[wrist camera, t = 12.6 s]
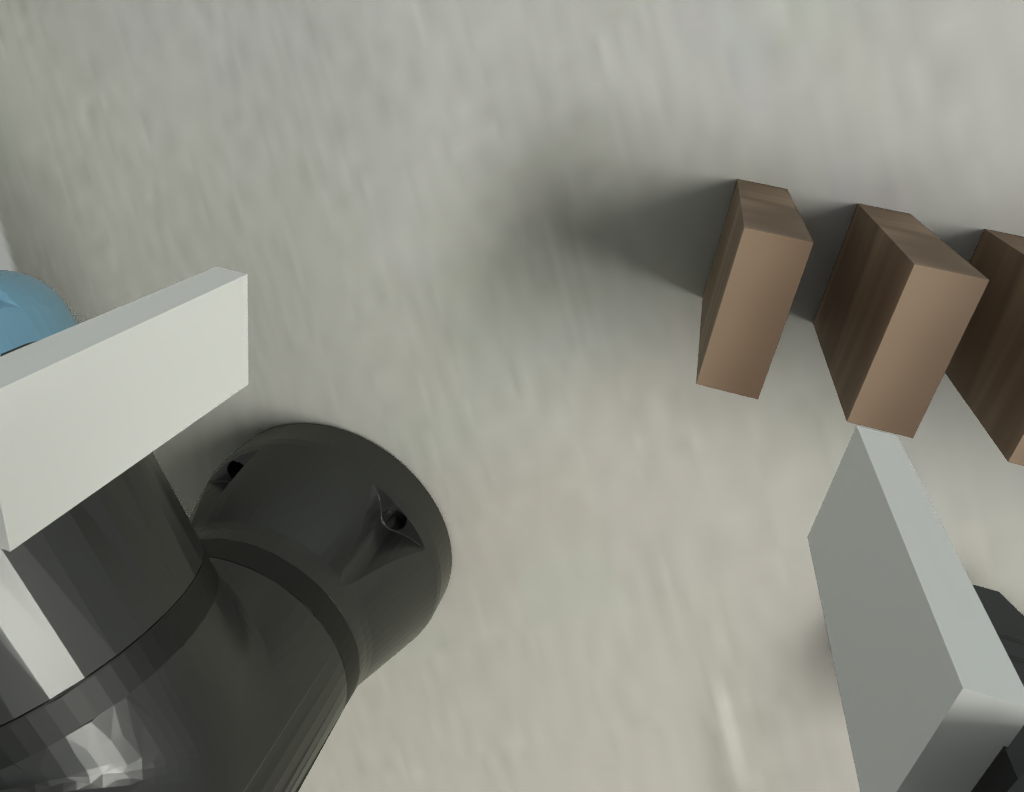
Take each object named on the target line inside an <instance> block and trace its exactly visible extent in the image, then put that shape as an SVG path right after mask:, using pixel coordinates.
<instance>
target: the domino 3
mask: <svg viewBox="0 0 1024 792" xmlns="http://www.w3.org/2000/svg"><path fill="white" fill-rule="evenodd" d="M969 263H970V264H971V265H972V266H973V267H974V268H976V269H977V270H978V271H979V272H980V273H982V274H983V275H984V276H985V277H986V278H988V279H989V282H988V284H987V286H986V288H985V290H984V292H983V294H982V296H981V299H980V301H979V303H978V305H977V307H976V309H975V311H974V313H973V315H972V317H971V319H970V321H969V323H968V325H967V327H966V329H965V332H964V334H963V336H962V338H961V340H960V342H959V344H958V346H957V348H956V350H955V352H954V354H953V356H952V358H951V360H950V363H949V365H948V367H947V369H946V371H945V373H946V375H947V376H948V377H949V379H950V380H951V382H952V383H953V385H954V386H955V387H956V389H957V390H958V392H959V393H960V394H961V396H962V397H963V399H964V400H965V402H966V403H967V404H968V406H969V407H970V409H971V410H972V411H973V413H974V414H975V416H976V417H977V418H978V420H979V421H980V423H981V424H982V426H983V427H984V428H985V430H986V431H987V433H988V434H989V435H990V437H991V438H992V440H993V441H994V443H995V444H996V445H997V447H998V448H999V450H1000V451H1001V452H1002V454H1003V455H1004V457H1005V458H1006V459H1007V461H1008V462H1011V463H1015V464H1019V465H1023V466H1024V237H1022V236H1017V235H1012V234H1007V233H1002V232H997V231H992V230H987V229H985V230H984V232H983V234H982V237H981V239H980V241H979V243H978V245H977V247H976V249H975V252H974V254H973V256H972V258H971V260H970V262H969Z"/></svg>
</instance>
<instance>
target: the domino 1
mask: <svg viewBox="0 0 1024 792" xmlns="http://www.w3.org/2000/svg"><path fill="white" fill-rule="evenodd" d="M813 244H814V242H813V240H812V238H811V236H810V234H809V232H808V230H807V228H806V226H805V224H804V222H803V220H802V218H801V216H800V214H799V212H798V210H797V208H796V206H795V204H794V202H793V200H792V198H791V196H790V194H789V192H788V190H787V189H784V188H779V187H774V186H769V185H764V184H759V183H754V182H750V181H745V180H740V179H737V183H736V186H735V190H734V193H733V196H732V200H731V203H730V207H729V210H728V213H727V217H726V220H725V224H724V227H723V230H722V234H721V237H720V241H719V244H718V247H717V251H716V254H715V258H714V261H713V264H712V268H711V271H710V275H709V278H708V281H707V285H706V288H705V292H704V295H703V300H702V314H701V327H700V341H699V354H698V368H697V381H696V384H699V385H703V386H707V387H711V388H715V389H719V390H723V391H727V392H731V393H735V394H739V395H743V396H747V397H751V398H755V399H758V398H759V395H760V392H761V389H762V387H763V384H764V381H765V378H766V375H767V373H768V370H769V367H770V364H771V361H772V359H773V356H774V353H775V350H776V347H777V345H778V342H779V339H780V336H781V333H782V330H783V328H784V325H785V322H786V319H787V316H788V314H789V311H790V308H791V305H792V302H793V300H794V297H795V294H796V291H797V288H798V286H799V283H800V280H801V277H802V274H803V272H804V269H805V266H806V263H807V260H808V258H809V255H810V252H811V249H812V246H813Z"/></svg>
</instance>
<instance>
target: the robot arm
mask: <svg viewBox="0 0 1024 792" xmlns="http://www.w3.org/2000/svg"><path fill="white" fill-rule="evenodd" d="M247 385H248V283H247V274H245V273H241V272H237V271H233V270H229V269H225V268H221V267H217V266H216V267H214V268H211V269H209V270H206V271H204V272H202V273H199V274H197V275H195V276H192V277H190V278H187V279H185V280H183V281H180V282H178V283H175V284H173V285H171V286H168V287H166V288H163V289H161V290H159V291H156V292H154V293H151V294H149V295H147V296H144V297H142V298H139V299H137V300H135V301H132V302H130V303H128V304H125V305H123V306H120V307H118V308H116V309H113V310H111V311H108V312H106V313H104V314H101V315H99V316H96V317H94V318H92V319H89V320H87V321H84V322H82V323H80V324H78V323H77V321H76V319H75V318H74V316H73V315H72V313H71V311H70V310H69V308H68V306H67V305H66V303H65V302H64V301H63V299H62V298H61V297H60V296H59V294H58V293H57V292H56V291H54V290H53V289H52V288H51V287H50V286H48V285H47V284H45V283H44V282H42V281H40V280H38V279H36V278H34V277H31V276H29V275H26V274H22V273H19V272H14V271H6V270H0V792H298V791H299V789H300V787H301V786H302V784H303V782H304V780H305V778H306V776H307V775H308V773H309V771H310V769H311V767H312V766H313V764H314V762H315V760H316V758H317V757H318V755H319V753H320V751H321V749H322V748H323V746H324V744H325V742H326V740H327V738H328V737H329V735H330V733H331V731H332V729H333V728H334V726H335V724H336V722H337V720H338V719H339V717H340V715H341V713H342V711H343V709H344V708H345V706H346V704H347V703H348V701H349V699H350V697H351V696H352V694H353V692H354V691H355V689H356V687H357V686H358V685H359V684H360V683H362V682H363V681H364V680H365V679H366V678H368V677H369V676H370V675H371V674H372V673H374V672H375V671H376V670H377V669H378V668H380V667H381V666H382V665H383V664H384V663H386V662H387V661H388V660H389V659H390V658H392V657H393V656H394V655H395V654H396V653H398V652H399V651H400V650H401V649H402V648H404V647H405V646H406V645H407V644H408V643H410V642H411V641H412V640H413V639H414V638H415V637H417V636H418V635H419V634H420V632H421V631H422V630H423V629H424V628H425V626H426V625H427V624H428V622H429V621H430V619H431V618H432V616H433V614H434V612H435V610H436V608H437V606H438V604H439V603H440V601H441V599H442V597H443V595H444V593H445V591H446V588H447V586H448V582H449V579H450V574H451V566H452V553H451V545H450V539H449V535H448V531H447V528H446V525H445V523H444V520H443V518H442V515H441V513H440V511H439V509H438V507H437V506H436V504H435V502H434V501H433V499H432V497H431V496H430V494H429V493H428V491H427V490H426V489H425V488H424V486H423V485H422V484H421V483H420V481H419V480H418V479H417V478H416V477H415V476H414V475H413V474H412V473H411V472H410V471H409V470H408V469H407V468H406V467H405V466H404V465H403V464H402V463H401V462H399V461H398V460H397V459H396V458H394V457H393V456H392V455H390V454H389V453H388V452H386V451H385V450H383V449H382V448H380V447H378V446H377V445H375V444H373V443H371V442H370V441H368V440H366V439H364V438H362V437H359V436H357V435H355V434H352V433H350V432H347V431H344V430H340V429H337V428H333V427H329V426H323V425H316V424H291V425H284V426H279V427H275V428H272V429H269V430H267V431H264V432H262V433H260V434H258V435H256V436H255V437H253V438H252V439H250V440H249V441H248V442H246V443H245V444H244V445H243V446H242V447H240V448H239V449H238V450H237V451H235V452H234V453H233V454H232V455H231V456H229V457H228V458H227V459H226V460H225V461H224V462H223V463H222V464H221V465H220V466H219V467H218V469H217V470H216V471H215V472H214V474H213V475H212V477H211V478H210V480H209V482H208V484H207V486H206V488H205V489H204V491H203V493H202V495H201V497H200V499H199V501H198V503H197V505H196V507H195V509H194V511H193V513H192V515H191V517H190V518H189V519H188V517H187V515H186V513H185V511H184V510H183V508H182V506H181V504H180V502H179V500H178V499H177V497H176V495H175V493H174V491H173V489H172V487H171V486H170V484H169V482H168V480H167V478H166V476H165V475H164V473H163V471H162V469H161V467H160V465H159V464H158V462H157V460H156V458H155V456H154V454H153V453H152V452H153V451H154V450H156V449H157V448H158V447H160V446H161V445H163V444H164V443H165V442H167V441H168V440H170V439H171V438H173V437H174V436H175V435H177V434H178V433H180V432H181V431H183V430H184V429H185V428H187V427H188V426H190V425H191V424H192V423H194V422H195V421H197V420H198V419H200V418H201V417H202V416H204V415H205V414H207V413H208V412H210V411H211V410H212V409H214V408H215V407H217V406H218V405H220V404H221V403H222V402H224V401H225V400H227V399H228V398H229V397H231V396H232V395H234V394H235V393H237V392H238V391H239V390H241V389H242V388H244V387H245V386H247ZM808 542H809V546H810V551H811V556H812V561H813V566H814V570H815V575H816V580H817V585H818V590H819V595H820V599H821V604H822V609H823V614H824V619H825V623H826V628H827V633H828V638H829V643H830V648H831V652H832V657H833V662H834V667H835V672H836V676H837V681H838V686H839V691H840V696H841V701H842V705H843V710H844V715H845V720H846V725H847V729H848V734H849V739H850V744H851V749H852V754H853V758H854V763H855V768H856V773H857V778H858V782H859V787H860V792H1024V616H1023V615H1022V614H1021V613H1020V612H1019V611H1018V610H1017V609H1016V608H1015V607H1014V606H1013V605H1012V604H1011V603H1010V602H1009V601H1008V600H1007V599H1006V598H1005V597H1004V596H1003V595H1002V594H1001V593H1000V592H998V591H994V590H990V589H987V588H983V587H980V586H976V585H972V583H971V581H970V579H969V577H968V575H967V573H966V571H965V569H964V567H963V565H962V563H961V561H960V559H959V557H958V555H957V553H956V551H955V549H954V547H953V545H952V543H951V541H950V539H949V537H948V535H947V533H946V531H945V529H944V527H943V525H942V523H941V521H940V519H939V517H938V515H937V513H936V511H935V509H934V507H933V505H932V503H931V501H930V499H929V497H928V495H927V493H926V492H925V490H924V488H923V486H922V484H921V482H920V480H919V478H918V476H917V474H916V472H915V470H914V468H913V466H912V464H911V462H910V460H909V458H908V456H907V454H906V452H905V450H904V448H903V446H902V444H901V442H900V440H899V438H898V436H896V435H892V434H888V433H884V432H880V431H876V430H872V429H868V428H864V427H860V426H856V428H855V431H854V433H853V435H852V437H851V440H850V442H849V444H848V447H847V449H846V451H845V453H844V456H843V458H842V460H841V462H840V465H839V467H838V469H837V472H836V474H835V476H834V478H833V481H832V483H831V485H830V487H829V490H828V492H827V494H826V497H825V499H824V501H823V503H822V506H821V508H820V510H819V512H818V515H817V517H816V519H815V521H814V524H813V526H812V528H811V531H810V533H809V535H808Z"/></svg>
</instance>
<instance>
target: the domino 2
mask: <svg viewBox="0 0 1024 792" xmlns="http://www.w3.org/2000/svg"><path fill="white" fill-rule="evenodd" d="M988 282H989V279H988V278H986V277H985V276H984V275H983V274H982V273H980V272H979V271H978V270H977V269H976V268H974V267H973V266H972V265H971V264H970V263H968V262H967V261H966V260H965V259H964V258H962V257H961V256H960V255H959V254H958V253H956V252H955V251H954V250H953V249H952V248H950V247H949V246H948V245H947V244H946V243H944V242H943V241H942V240H941V239H940V238H938V237H937V236H936V235H935V234H934V233H932V232H931V231H930V230H929V229H928V228H926V227H925V226H924V225H923V224H922V223H920V222H919V221H918V220H917V219H916V218H914V217H913V216H912V215H911V214H908V213H903V212H898V211H893V210H888V209H883V208H878V207H873V206H868V205H863V204H858V205H857V207H856V210H855V213H854V215H853V218H852V221H851V223H850V226H849V229H848V231H847V234H846V237H845V239H844V242H843V245H842V247H841V250H840V253H839V255H838V258H837V261H836V263H835V266H834V269H833V271H832V274H831V277H830V279H829V282H828V285H827V287H826V290H825V292H824V295H823V298H822V300H821V303H820V306H819V308H818V311H817V314H816V316H815V319H814V322H813V324H814V327H815V330H816V333H817V336H818V339H819V342H820V345H821V348H822V351H823V353H824V356H825V359H826V362H827V365H828V368H829V371H830V374H831V377H832V380H833V382H834V385H835V388H836V391H837V394H838V397H839V400H840V403H841V406H842V409H843V411H844V414H845V417H846V420H847V422H850V423H854V424H858V425H862V426H866V427H871V428H875V429H879V430H883V431H887V432H891V433H895V434H899V435H903V436H907V437H911V438H913V437H914V435H915V433H916V431H917V429H918V427H919V424H920V422H921V420H922V418H923V416H924V414H925V412H926V410H927V408H928V406H929V404H930V402H931V400H932V398H933V396H934V393H935V391H936V389H937V387H938V385H939V383H940V381H941V379H942V377H943V375H944V373H945V371H946V369H947V367H948V365H949V363H950V360H951V358H952V356H953V354H954V352H955V350H956V348H957V346H958V344H959V342H960V340H961V338H962V336H963V334H964V332H965V329H966V327H967V325H968V323H969V321H970V319H971V317H972V315H973V313H974V311H975V309H976V307H977V305H978V303H979V301H980V299H981V296H982V294H983V292H984V290H985V288H986V286H987V284H988Z"/></svg>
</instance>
